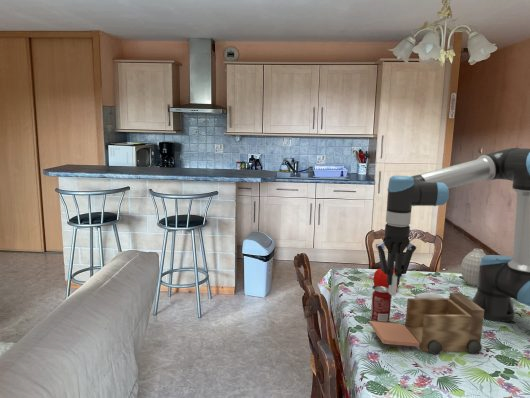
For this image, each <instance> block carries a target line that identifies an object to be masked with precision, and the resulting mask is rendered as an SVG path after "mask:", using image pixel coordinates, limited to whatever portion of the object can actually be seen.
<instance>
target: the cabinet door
mask: <svg viewBox="0 0 530 398" xmlns="http://www.w3.org/2000/svg"><path fill="white" fill-rule="evenodd" d="M369 325H370V327H371V328H372V330H373V331H374V332H375V334H376V335H377V337H378V338H379V340H380V341H381V343H382V344H387V345H396V346H397V345H398V346H406V347H407V346H408V347H416V348H419V345H420V343H419V342H418V341H417V339H416V338H415V337H414V336H413V335H412V334H411V332H410V331H409V330H408V329H407V328H406V327H405V324H402V323H396V322H395V323H394V322H393V323H392V322H376V321H374V320H371V321H369Z"/></svg>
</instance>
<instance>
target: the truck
mask: <svg viewBox="0 0 530 398" xmlns="http://www.w3.org/2000/svg"><path fill="white" fill-rule="evenodd" d="M406 303H407V304H406V313H405V324H404V325H405V327H406V328H407V329H408V330H409V331H410V332H411V334H412V335H413V336H414V337H415V338H416V339H417V341H418V342H419V343H420V345H419V347H418V348H419V350H420V351H421V352H430V353H431V354H432V355H438V354H440V353H441V352H470V353H471V354H474V355H476V354H477V355H478V354H479V353H481V351H482V349H483V346H482V344H481V341H482V333H483V327H484V326H483V325H484V319H485V318H484V309H482V308H481V307H479V306H478V305H477V304H475V303H474V302H473V301H472V300H471V299H470V298H468V297H467V296H466V295H465V294H463V293H462V292H449V297H447V298H445V297H443V298H415V297H414V298H412V297H411V298H410V297H409V298H407V302H406Z"/></svg>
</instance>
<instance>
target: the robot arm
mask: <svg viewBox="0 0 530 398" xmlns="http://www.w3.org/2000/svg"><path fill="white" fill-rule="evenodd" d="M482 180H483V181H486V182H490V181H494V180H507V181H511V182H512V189H513V191H514V192H515V193H516V203H515V204H516V206H515V223H514V236H513V237H514V239H513V255H512V256H508V255H500V254H499V255H498V254H486V256H483V257H482V259H481V263H480V269H479V279H478V286H477V290H476V293H475V295H474V296H473V299H472V300H471V301H473V302H474V303H475V304H477V305H478V306H479V307H481V308H482V309H484V318H483V319H486V320H490V321H496V322H511V321H513V320H514V319H515V318H514V317H515V310H514V309H515V308H514V305H513V301H512V299H513V300H515V301H517V302H518V303H520V304H522V305H525V306H529V307H530V148H524V147H523V148H521V147H511V148H505V149H499V150H497V151H494V152H489V153H486V154H485V153H484V154H482V155H479V156H478V158H477V159H473V160H470V161H466V162H461V163H458V164H454V165H451V166H447V167H446V166H445V167H443V168H440V169H439V168H438V169H435V170H432V171H428V172H423V173H420V174H417V175H412V176H408V175H392V176H391V177H389V179H388V186H387V197H386V198H387V202H386V214H385V222H386V223H385V225H384V227H385V228H384V238H383V240H382V242H381V243H377V244H375V248H376V250H377V251H378V258H379V263H380V269H381V270H382V272H383V273H384V274H387V284H388V285H389V291H388V293H389V294H390V295H391V297H392V296H394V297H395V296H397V289H398V287H397V285H398V286H399V285H400V280H401V278H402V276H403V275H406V274H407V272H408V269H409V265H410V263H411V260H412V256H413V254H414V252H415V251H416V250H417V246H415V245H414V244H412V243H411V242H410V238H409V237H410V230H411V227H410V225H411V218H412V207H414V206H415V207H418V206H419V207H423V206H424V207H425V206H426V207H427V206H428V207H430V206H431V207H432V206H434V207H436V206H437V207H438V206H443V205H446V204H447V203H448V200H449V195H450V190H449V189H452V188H455V187H459V186H464V185H467V184H472V183H474V182H479V181H482ZM385 248H386V249H387V258H386V254H385V253H386V252H385ZM404 251H405V253H404ZM386 259H387V260H386ZM393 270H395V271H394V273H395V274H393Z"/></svg>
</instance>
